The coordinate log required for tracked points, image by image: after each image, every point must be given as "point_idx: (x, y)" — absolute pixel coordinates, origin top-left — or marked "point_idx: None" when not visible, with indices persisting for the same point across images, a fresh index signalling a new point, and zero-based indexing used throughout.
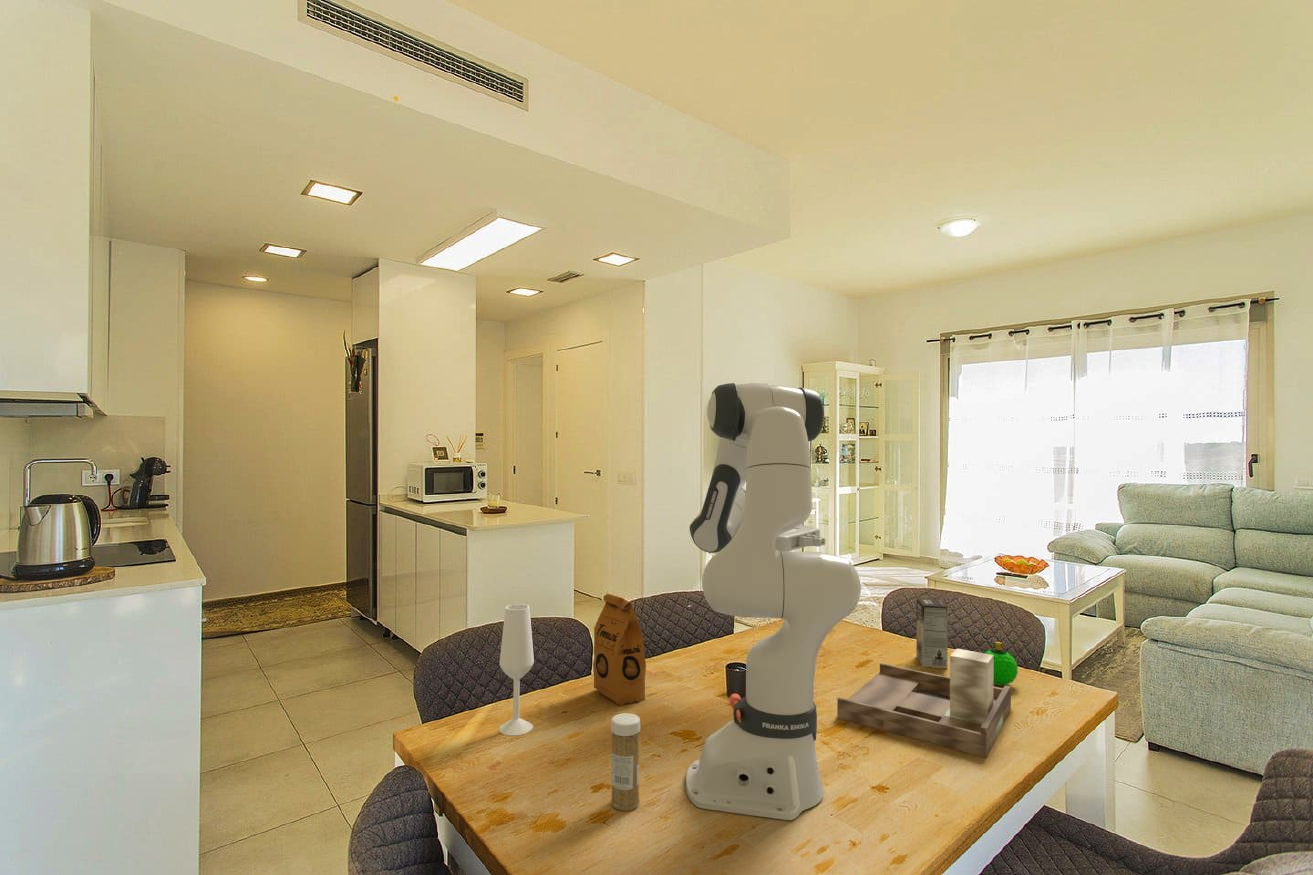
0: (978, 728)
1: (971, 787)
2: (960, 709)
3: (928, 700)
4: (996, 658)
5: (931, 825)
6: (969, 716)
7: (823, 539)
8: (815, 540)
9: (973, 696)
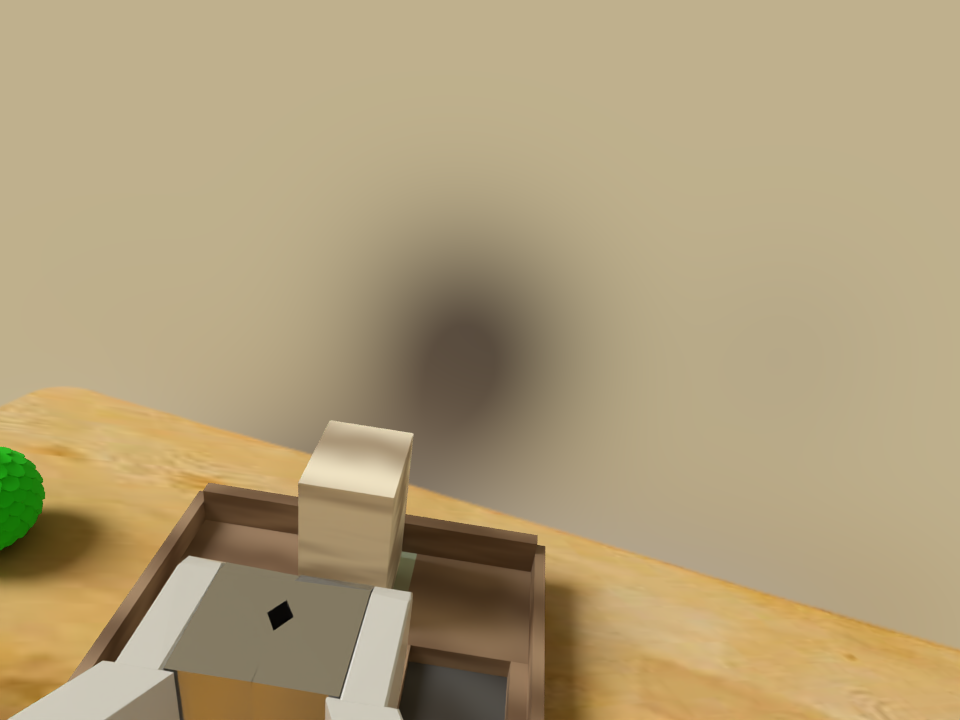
0: (443, 574)
1: (690, 606)
2: None
3: None
4: (8, 476)
5: (892, 662)
6: (393, 584)
7: (281, 574)
8: (396, 683)
9: (399, 535)
